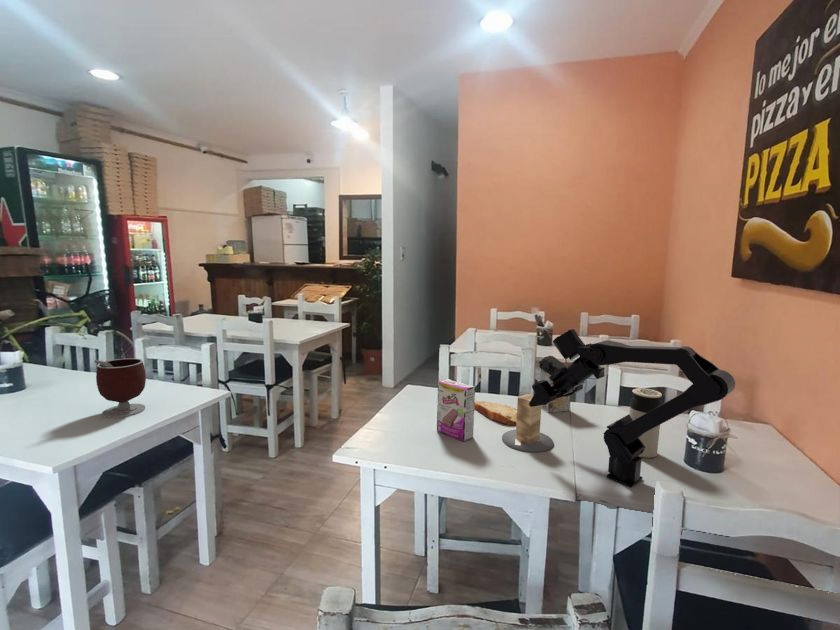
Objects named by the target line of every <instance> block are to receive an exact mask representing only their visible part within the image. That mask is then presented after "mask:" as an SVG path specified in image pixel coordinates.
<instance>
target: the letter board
mask: <svg viewBox="0 0 840 630" xmlns="http://www.w3.org/2000/svg"><path fill="white" fill-rule="evenodd" d="M501 440H502V442H503V444H504V445H506V446H508V447H509V448H511V449H514V450H517V451H520V452H525V453H526V452H527V453H542V452H547V451H549V450H551V449H552V448H553V447H554V440H553V439H552V438H551V437H550V436H549V435H547V434H545V433H542V432H540V438H539V440H538V441H535V442H533V443H531V444H528V443H525V442H523V441H520V440H518V439H516V429H510V430H508V431H506V432H504V433H503V434H502V436H501Z"/></svg>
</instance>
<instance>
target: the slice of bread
mask: <svg viewBox="0 0 840 630" xmlns="http://www.w3.org/2000/svg"><path fill="white" fill-rule="evenodd" d="M474 411H476V412H477V411H478V412H477V413H479V414H481V415H483V416H484V417H486V418H488V419H490V420H492V421H495V422H497V423H501V424H504V425H507V426H515V427H516V422H517V408H515V407H513V406H509V405H506V404H501V403H497V402H491V401H482V400H481V401H474Z"/></svg>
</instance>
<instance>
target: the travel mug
mask: <svg viewBox="0 0 840 630" xmlns="http://www.w3.org/2000/svg"><path fill="white" fill-rule="evenodd" d="M632 393H633V397H632V398H631V399H630V401H629V402H630V403H629V413H628V414H629V415H630V417H631V418H632V419H634V418H638V417H640V416H642V415H644V414H646V413H647V412H649V411H651V410H653V409H655V408H656V407H658V406H660V405H662V403H661V397H663V394H662V393H661V392H660V391H658V390H655V389H650V388H644V387H641V388H634V389H632ZM660 428H661V424H660V425H658V426H656V427H654V428H652V429H651V430H649V431H647V432H645V433H644V434H643V435H642V436H641V437H639V439H640V440H641V442H642V443H643V444H644V446H645V447H646V448H645V450H644V451H643V453H642V454H640V455H639V457H641V458H643V459H644V458H646V459H651V458H655V457H657V456H658V448H659V440H660Z"/></svg>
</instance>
